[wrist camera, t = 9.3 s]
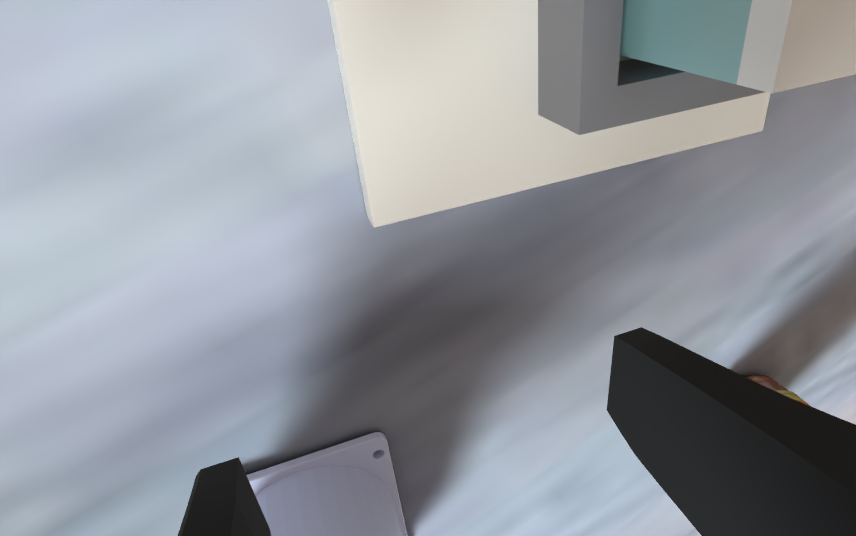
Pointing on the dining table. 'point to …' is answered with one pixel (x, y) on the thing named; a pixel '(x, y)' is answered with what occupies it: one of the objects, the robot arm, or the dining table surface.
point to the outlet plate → (510, 99)
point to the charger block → (745, 39)
